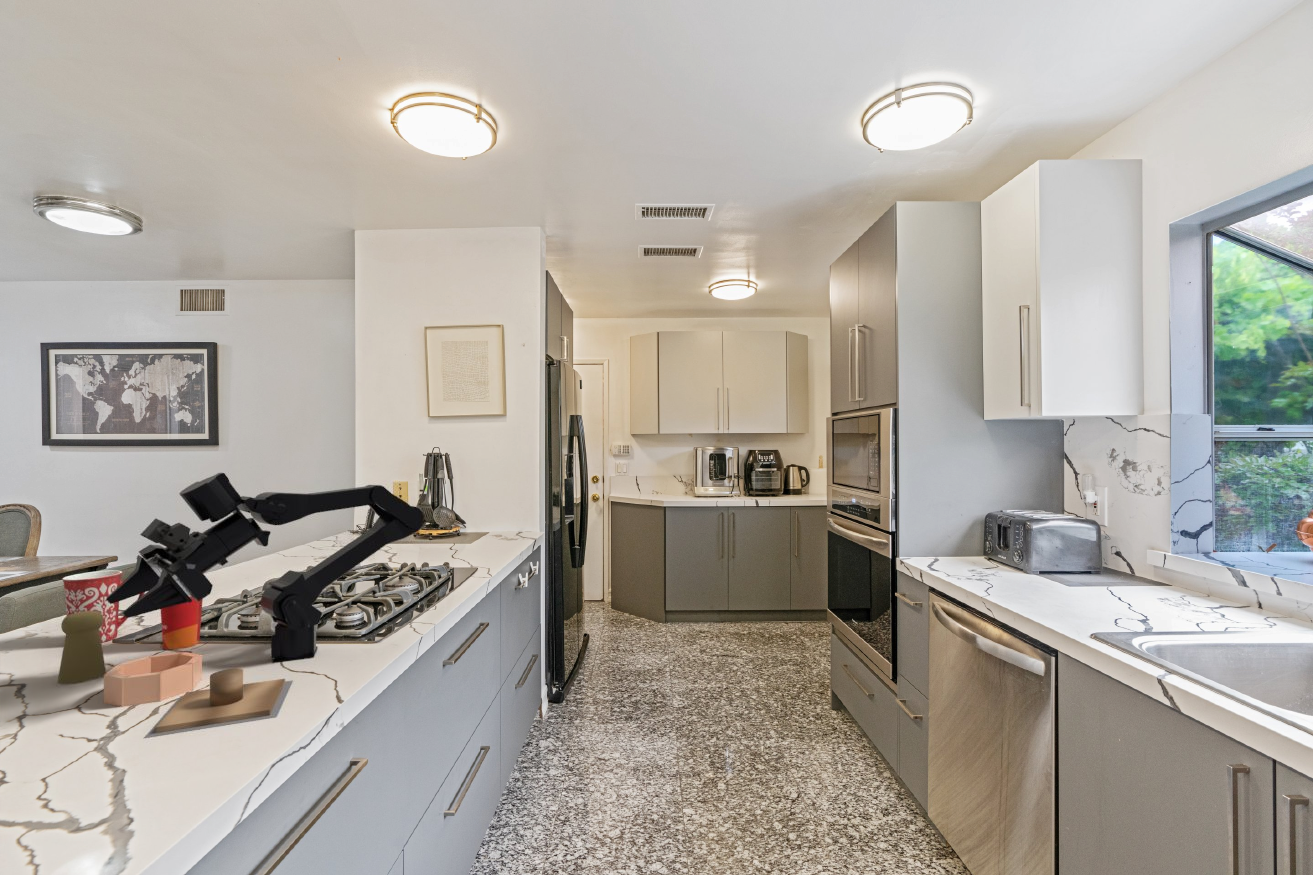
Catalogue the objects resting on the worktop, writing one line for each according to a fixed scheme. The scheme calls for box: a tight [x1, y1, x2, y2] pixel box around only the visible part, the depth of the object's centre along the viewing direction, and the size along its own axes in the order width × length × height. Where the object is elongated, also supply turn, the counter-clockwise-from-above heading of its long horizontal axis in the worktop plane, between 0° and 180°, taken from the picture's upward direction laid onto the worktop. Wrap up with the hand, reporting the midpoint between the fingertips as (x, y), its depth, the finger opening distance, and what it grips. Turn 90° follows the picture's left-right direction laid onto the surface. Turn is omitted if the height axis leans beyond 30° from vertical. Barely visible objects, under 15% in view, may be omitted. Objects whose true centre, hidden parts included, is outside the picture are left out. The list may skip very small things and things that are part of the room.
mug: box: [61, 569, 146, 644], centre depth 125 cm, size 13×9×14 cm
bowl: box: [103, 651, 203, 708], centre depth 96 cm, size 11×11×4 cm
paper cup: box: [160, 597, 204, 651], centre depth 120 cm, size 8×8×14 cm
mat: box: [143, 680, 294, 739], centre depth 89 cm, size 15×15×1 cm
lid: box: [156, 667, 286, 733], centre depth 89 cm, size 13×13×5 cm
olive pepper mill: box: [57, 611, 107, 685], centre depth 103 cm, size 6×6×11 cm
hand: (116, 608), depth 93 cm, fingers open, 9 cm apart
